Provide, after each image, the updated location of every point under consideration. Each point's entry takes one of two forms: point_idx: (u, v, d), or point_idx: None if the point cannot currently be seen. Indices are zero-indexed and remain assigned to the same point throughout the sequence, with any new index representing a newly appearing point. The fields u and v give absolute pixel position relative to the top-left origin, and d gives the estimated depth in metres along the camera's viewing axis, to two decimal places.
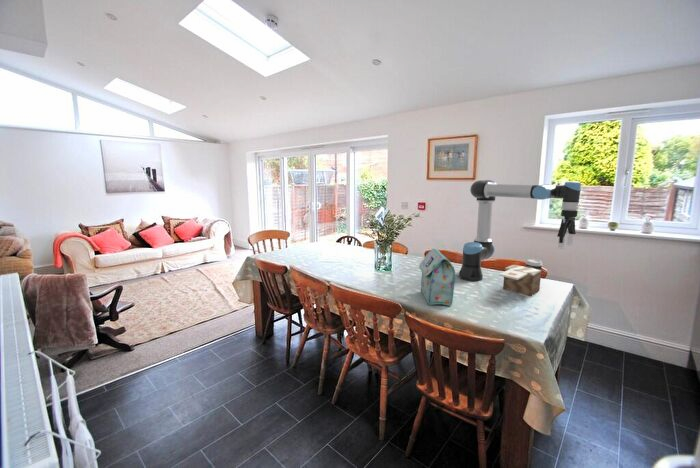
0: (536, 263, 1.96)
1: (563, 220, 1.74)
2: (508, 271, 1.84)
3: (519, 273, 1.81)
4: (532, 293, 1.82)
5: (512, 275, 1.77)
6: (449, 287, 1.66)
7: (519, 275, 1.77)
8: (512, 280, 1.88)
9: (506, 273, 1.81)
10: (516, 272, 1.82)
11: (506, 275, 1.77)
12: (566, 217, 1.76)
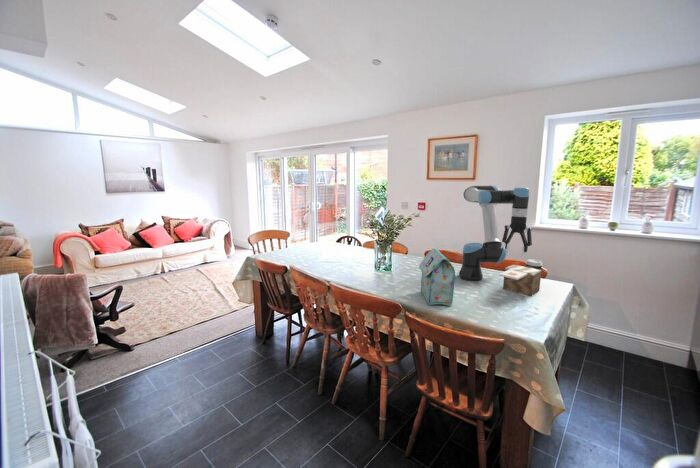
0: (536, 263, 1.95)
1: None
2: (508, 271, 1.84)
3: (519, 273, 1.81)
4: (532, 293, 1.82)
5: (512, 275, 1.77)
6: (449, 287, 1.66)
7: (519, 275, 1.77)
8: (512, 280, 1.88)
9: (506, 273, 1.81)
10: (516, 272, 1.82)
11: (506, 275, 1.77)
12: None
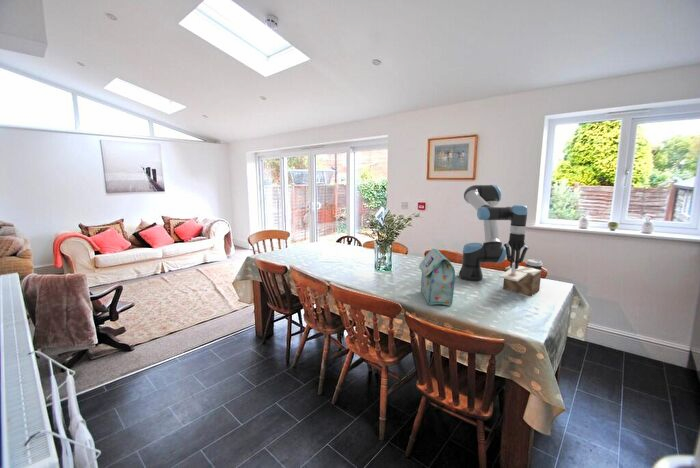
0: (536, 263, 1.96)
1: None
2: (508, 272, 1.84)
3: (518, 274, 1.81)
4: (532, 293, 1.82)
5: (512, 276, 1.77)
6: (449, 287, 1.66)
7: (519, 276, 1.77)
8: (512, 280, 1.88)
9: (506, 274, 1.81)
10: (516, 272, 1.82)
11: (506, 277, 1.77)
12: None
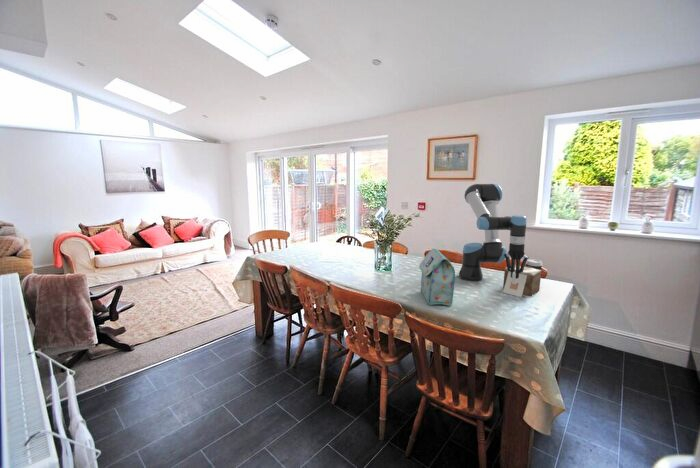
0: (536, 263, 1.95)
1: None
2: (509, 278, 1.86)
3: (519, 280, 1.82)
4: (532, 293, 1.82)
5: (515, 291, 1.82)
6: (449, 287, 1.66)
7: (520, 286, 1.81)
8: None
9: (508, 287, 1.85)
10: None
11: None
12: None
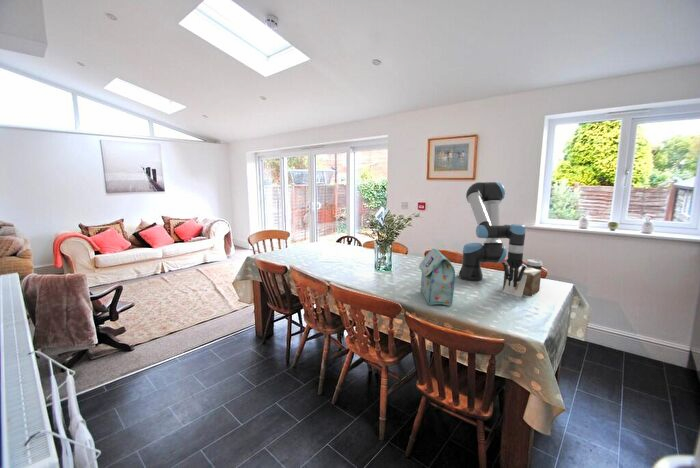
0: (536, 263, 1.95)
1: None
2: None
3: None
4: (532, 293, 1.82)
5: (515, 291, 1.83)
6: (449, 287, 1.66)
7: (520, 286, 1.81)
8: None
9: (508, 287, 1.86)
10: None
11: None
12: None
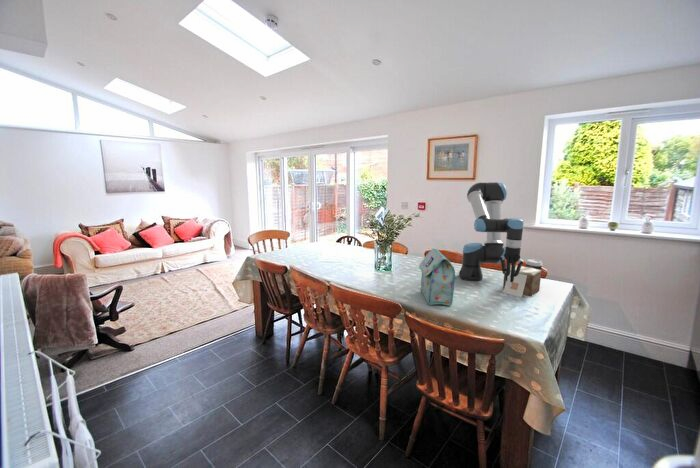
0: (536, 263, 1.95)
1: None
2: None
3: (519, 280, 1.82)
4: (532, 293, 1.82)
5: (515, 291, 1.83)
6: (449, 287, 1.66)
7: (520, 286, 1.81)
8: None
9: None
10: (516, 278, 1.84)
11: None
12: None
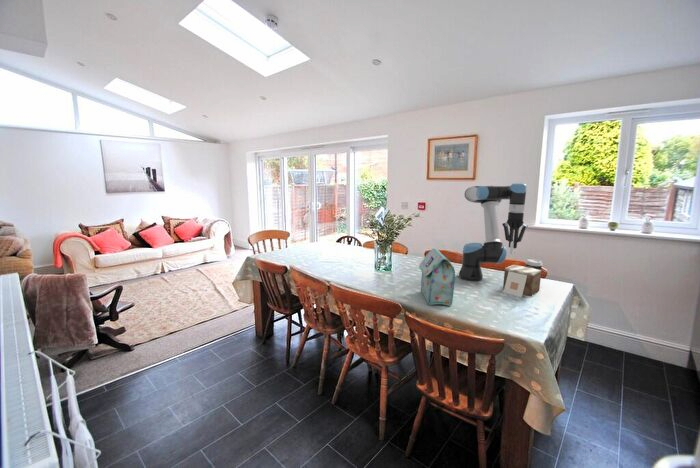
0: (536, 263, 1.96)
1: None
2: (509, 279, 1.87)
3: (519, 280, 1.82)
4: (532, 293, 1.82)
5: (515, 291, 1.83)
6: (449, 287, 1.66)
7: (520, 286, 1.81)
8: None
9: (508, 287, 1.86)
10: (516, 278, 1.84)
11: None
12: None
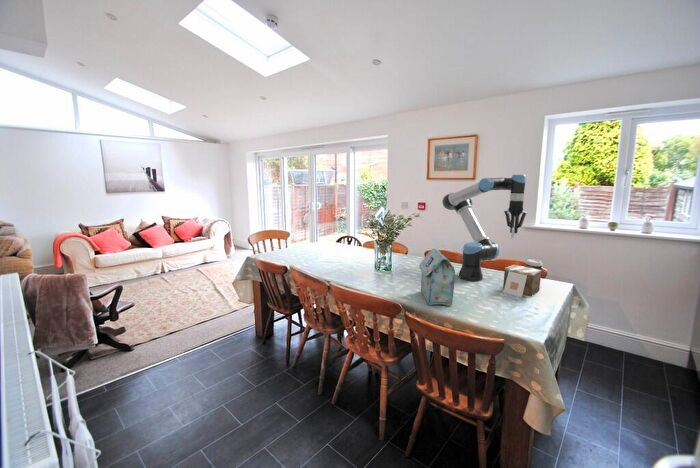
0: (536, 263, 1.95)
1: None
2: (509, 279, 1.87)
3: (519, 280, 1.82)
4: (532, 293, 1.82)
5: (515, 291, 1.83)
6: (449, 287, 1.66)
7: (520, 286, 1.81)
8: None
9: (508, 287, 1.86)
10: (516, 278, 1.84)
11: None
12: None
